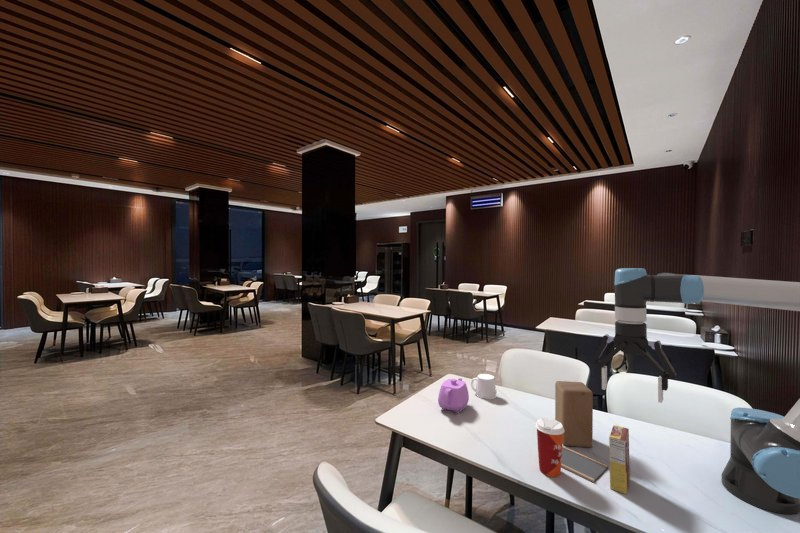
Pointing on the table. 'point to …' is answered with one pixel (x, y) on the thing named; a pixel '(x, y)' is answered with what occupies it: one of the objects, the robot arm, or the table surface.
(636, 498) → the table surface
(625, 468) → the candy box
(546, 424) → the coffee cup
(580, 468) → the grey flat slab
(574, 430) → the wooden block
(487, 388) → the mug
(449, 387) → the teapot
